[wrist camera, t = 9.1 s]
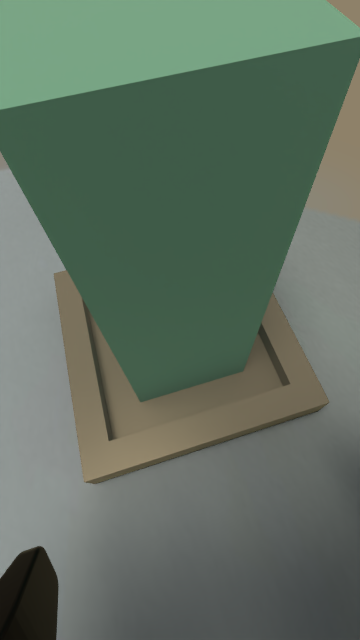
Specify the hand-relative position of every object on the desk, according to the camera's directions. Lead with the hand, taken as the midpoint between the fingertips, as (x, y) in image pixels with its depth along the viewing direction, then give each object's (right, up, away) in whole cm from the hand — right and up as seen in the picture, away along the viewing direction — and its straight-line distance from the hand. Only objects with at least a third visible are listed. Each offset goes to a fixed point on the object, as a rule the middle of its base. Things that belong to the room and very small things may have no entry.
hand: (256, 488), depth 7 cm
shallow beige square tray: (-2, +2, +10) cm, 11 cm away
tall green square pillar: (-2, +3, +10) cm, 10 cm away
